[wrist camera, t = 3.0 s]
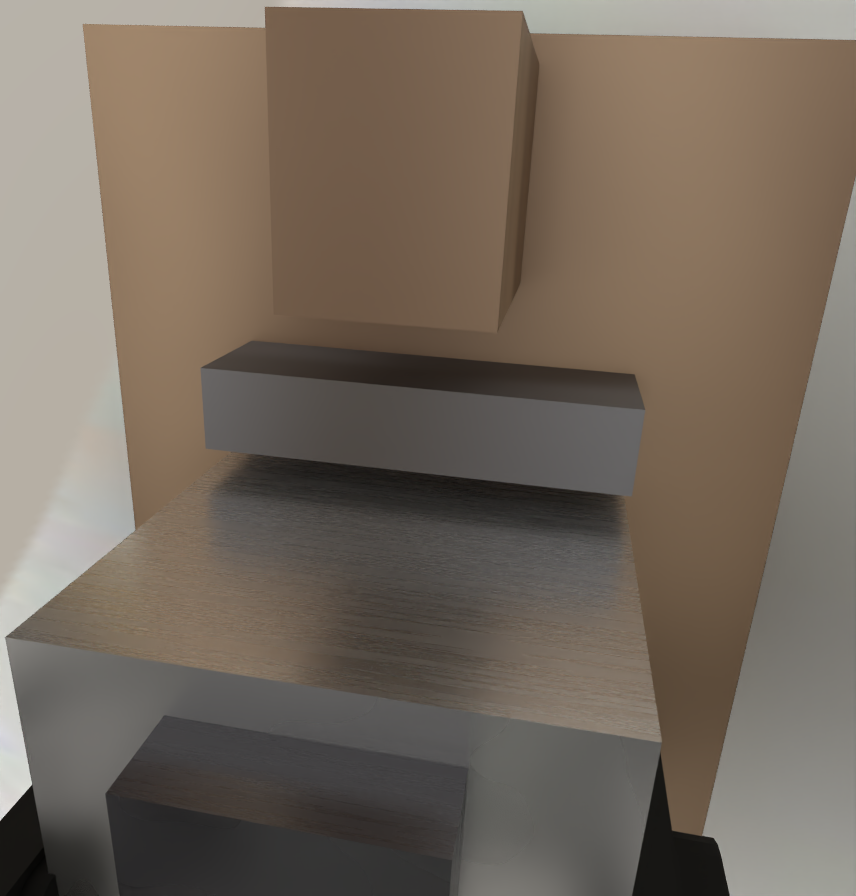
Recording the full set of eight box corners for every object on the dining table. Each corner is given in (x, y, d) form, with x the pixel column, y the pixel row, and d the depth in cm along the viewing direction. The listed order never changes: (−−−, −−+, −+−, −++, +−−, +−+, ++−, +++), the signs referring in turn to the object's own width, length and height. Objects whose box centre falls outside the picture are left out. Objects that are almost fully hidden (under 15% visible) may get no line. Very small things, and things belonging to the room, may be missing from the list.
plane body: (784, 83, 11) (1064, -33, 5) (621, 924, 18) (650, 1356, 11) (225, 66, 13) (-134, -41, 6) (261, 853, 19) (101, 1203, 13)
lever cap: (620, 471, 10) (675, 837, 4) (555, 911, 13) (541, 1460, 7) (255, 432, 10) (-77, 702, 5) (271, 855, 13) (69, 1314, 8)
